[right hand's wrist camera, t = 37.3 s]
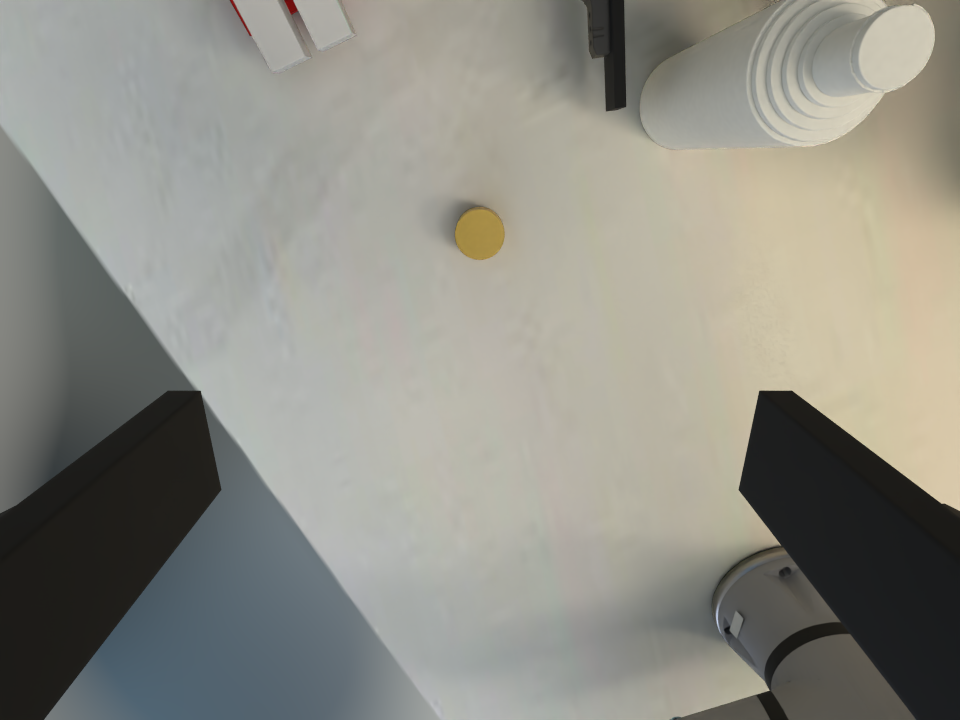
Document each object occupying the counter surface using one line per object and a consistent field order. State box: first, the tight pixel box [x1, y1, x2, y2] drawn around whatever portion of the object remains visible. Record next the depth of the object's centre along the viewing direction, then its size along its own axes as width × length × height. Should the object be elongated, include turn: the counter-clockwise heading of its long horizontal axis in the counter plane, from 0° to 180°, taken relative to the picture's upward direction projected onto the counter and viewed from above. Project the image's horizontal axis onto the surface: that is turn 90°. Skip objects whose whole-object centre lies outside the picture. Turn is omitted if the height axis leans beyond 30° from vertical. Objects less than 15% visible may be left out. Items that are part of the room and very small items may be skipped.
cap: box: [455, 207, 504, 260], centre depth 45 cm, size 4×4×2 cm
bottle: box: [640, 0, 935, 150], centre depth 32 cm, size 7×7×23 cm
